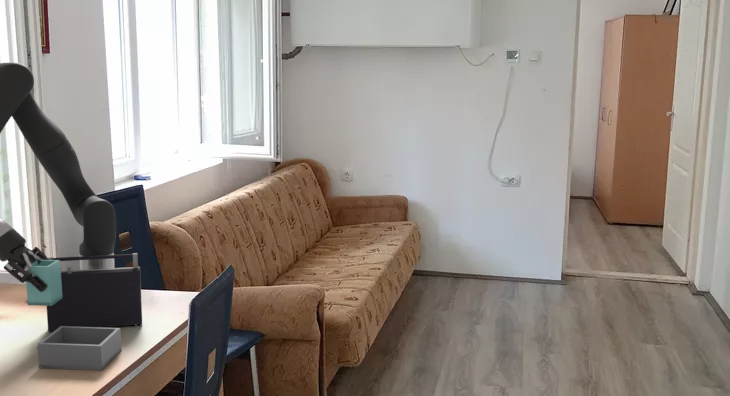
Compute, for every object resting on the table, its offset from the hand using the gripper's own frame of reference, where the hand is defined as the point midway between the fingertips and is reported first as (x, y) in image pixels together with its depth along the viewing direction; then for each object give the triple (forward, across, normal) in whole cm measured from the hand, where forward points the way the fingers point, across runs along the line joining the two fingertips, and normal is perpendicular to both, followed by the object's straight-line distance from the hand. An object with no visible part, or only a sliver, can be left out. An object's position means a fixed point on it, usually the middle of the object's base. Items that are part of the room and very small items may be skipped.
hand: (50, 285), depth 184 cm
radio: (+15, +13, +8) cm, 21 cm away
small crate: (+2, 0, +4) cm, 5 cm away
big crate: (+19, -9, +3) cm, 21 cm away
